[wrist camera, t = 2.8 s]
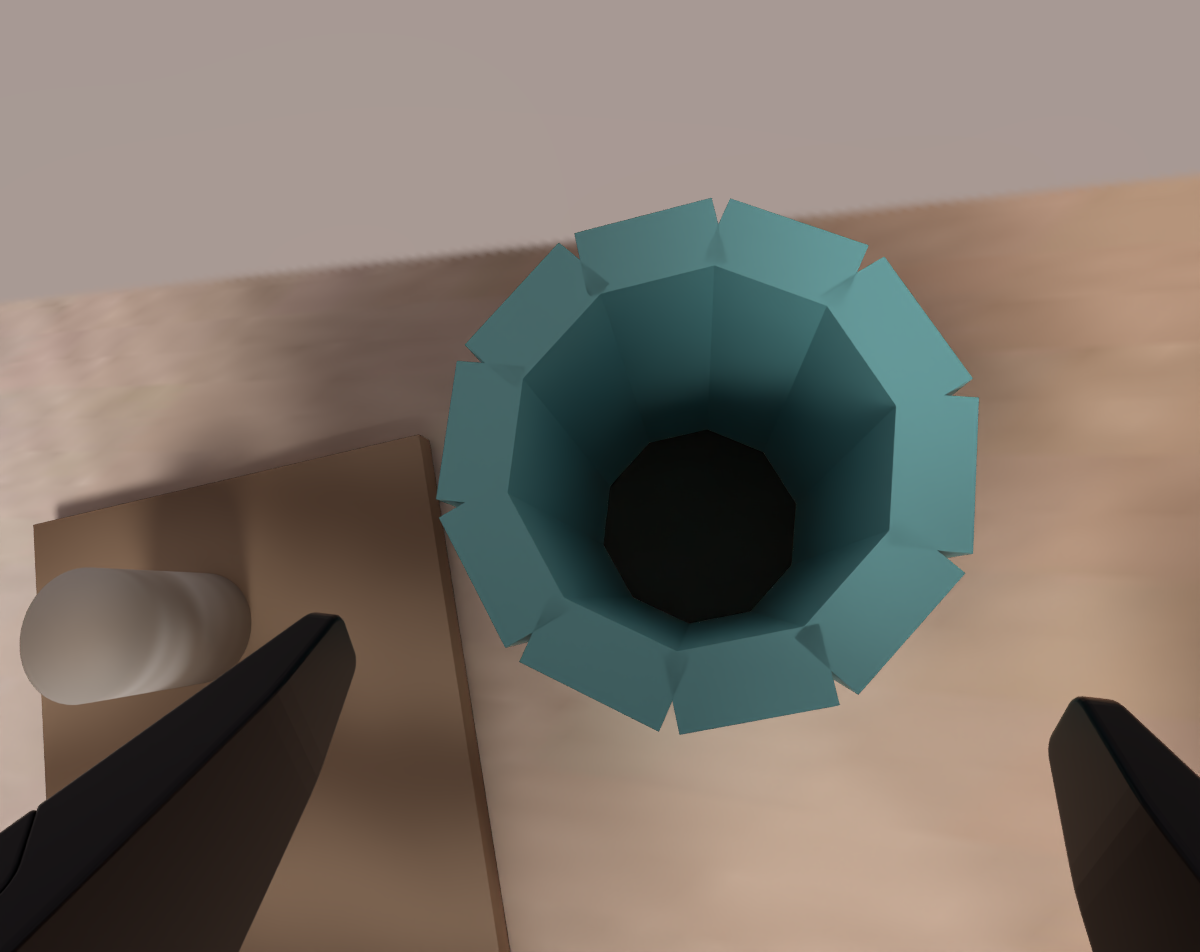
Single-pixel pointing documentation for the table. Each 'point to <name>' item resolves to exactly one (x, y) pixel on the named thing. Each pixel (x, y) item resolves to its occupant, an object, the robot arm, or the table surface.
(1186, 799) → the robot arm
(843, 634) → the teal collar
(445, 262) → the table surface
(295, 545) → the peg board
